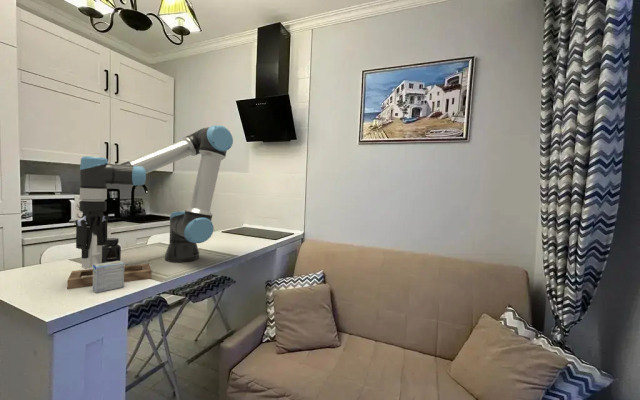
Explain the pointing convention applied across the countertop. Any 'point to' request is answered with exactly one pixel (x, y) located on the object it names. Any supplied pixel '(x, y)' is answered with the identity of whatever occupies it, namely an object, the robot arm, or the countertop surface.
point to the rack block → (130, 274)
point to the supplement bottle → (111, 250)
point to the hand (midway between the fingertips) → (91, 264)
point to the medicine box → (108, 276)
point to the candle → (93, 251)
